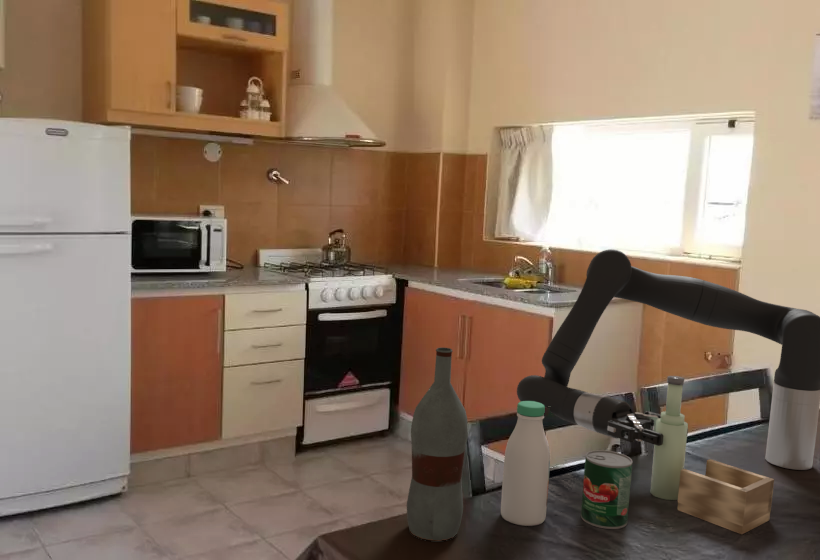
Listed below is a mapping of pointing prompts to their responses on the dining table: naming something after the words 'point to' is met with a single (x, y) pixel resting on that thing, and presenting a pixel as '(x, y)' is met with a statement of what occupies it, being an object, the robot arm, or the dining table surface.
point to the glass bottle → (670, 444)
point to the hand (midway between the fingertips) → (674, 436)
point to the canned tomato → (606, 489)
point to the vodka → (437, 457)
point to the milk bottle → (526, 468)
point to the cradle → (726, 496)
